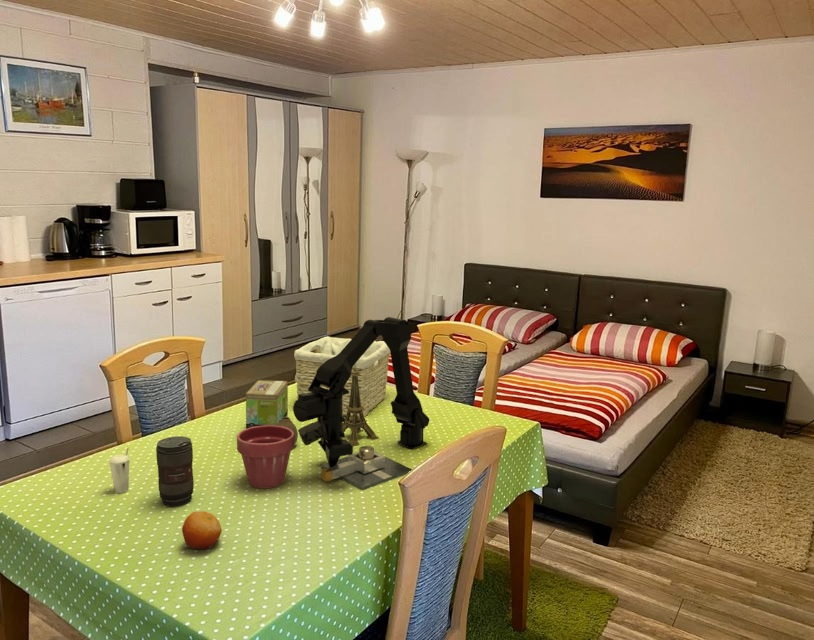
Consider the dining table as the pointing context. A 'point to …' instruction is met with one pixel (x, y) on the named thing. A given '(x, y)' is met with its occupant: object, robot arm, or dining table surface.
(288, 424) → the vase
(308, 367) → the basket
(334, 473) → the square nut with handle
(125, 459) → the milkshake
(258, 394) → the tea box
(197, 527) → the fruit
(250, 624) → the dining table surface
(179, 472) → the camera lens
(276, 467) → the plant pot
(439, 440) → the dining table surface
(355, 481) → the post base
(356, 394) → the eiffel tower
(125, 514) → the dining table surface
